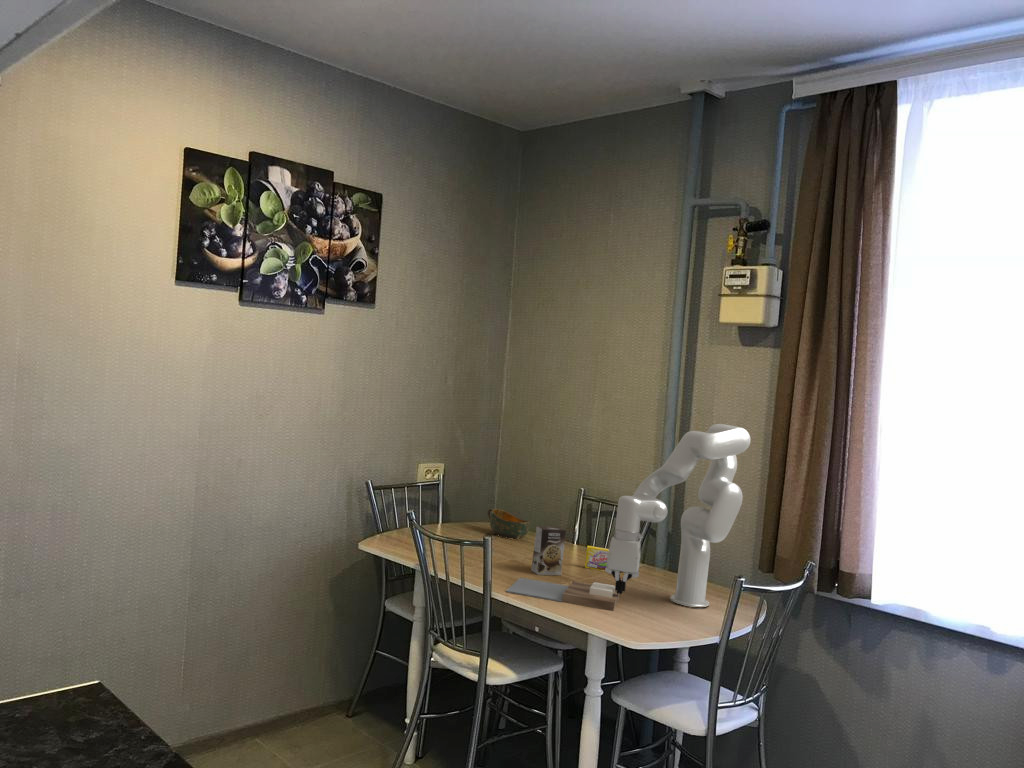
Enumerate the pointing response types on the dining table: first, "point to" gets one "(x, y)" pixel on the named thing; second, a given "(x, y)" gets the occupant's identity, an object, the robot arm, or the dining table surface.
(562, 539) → the cookie box
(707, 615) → the dining table surface
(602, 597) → the board
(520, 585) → the mat
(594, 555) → the candy box
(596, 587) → the tile
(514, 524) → the green gourd bowl
